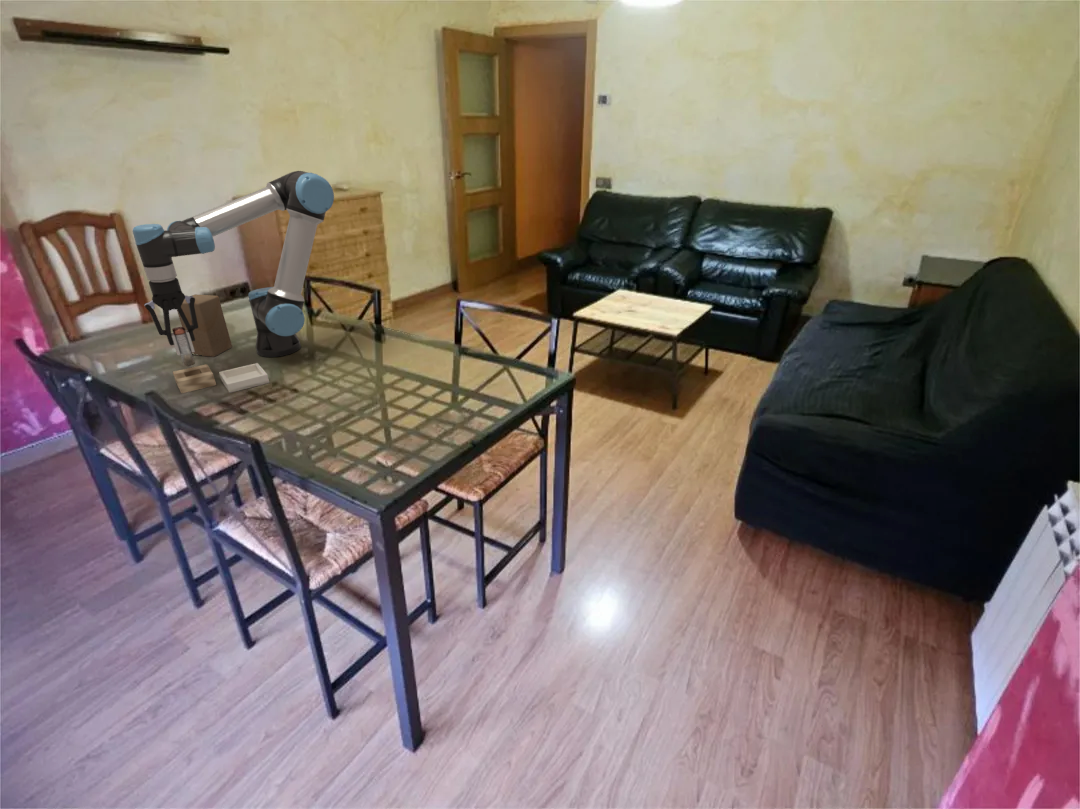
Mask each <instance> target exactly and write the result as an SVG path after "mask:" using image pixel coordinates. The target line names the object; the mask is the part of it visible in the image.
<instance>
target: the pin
mask: <svg viewBox="0 0 1080 809" xmlns="http://www.w3.org/2000/svg"><path fill="white" fill-rule="evenodd" d="M171 332H172V333H173V334H174V335H175V338H176V342H177V345H178V348H179V351H180V354H181V355H180V358H181V362H182V364H183V366H185V367H191V366H193V365H195V363H196V362H195V358H194V355H192V351H191V348H190V345H189V342H188V338H187V335H186V331H185V328H184V327H182V326H177V327H173V328H172V329H171Z"/></svg>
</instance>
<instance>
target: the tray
mask: <svg viewBox="0 0 1080 809" xmlns="http://www.w3.org/2000/svg"><path fill="white" fill-rule="evenodd" d="M218 374H219V378H220V381H221V383H222V384H223V386H224V387H225V388H226V391H228V393H229V394H231V393H232V394H233V393H235V392H239V391H242V390H246V389H251V388H255V387H258V386H263V385H267V384H270V380H269V374H268V373H267V372H266V371H265V370H264V369H263V367H262V366H260V364H259V363H258V362H256V363H253V364H252V363H250V364H247V365H243V366H239V367H235V368H229V369H226V370H222V371H219V372H218Z"/></svg>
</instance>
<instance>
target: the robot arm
mask: <svg viewBox="0 0 1080 809" xmlns="http://www.w3.org/2000/svg"><path fill="white" fill-rule="evenodd" d="M334 193H335V192H334V190H333V187H332V185H331V184H330V182H329V181H328V180H327V179H326V178H324V177H323V176H321V175H318V174H317V173H313V172H309V171H308V172H307V171H304V170H296V171H291V172H289V173H286V174H284V175H281V176H280V177H278V178H275V179H274V180H271V181H269V182H266V186H265V187H263V188H261V189H257V190H255V191H253V192H250V193H248V194H246V195H244V196H241V197H238V198H236V199H233V200H230V201H228V202H226V203H224V204H221V205H218V206H216V207H213V208H211V209H208V210H206V211H203V212H201V213H198V214H195V215H193V216H191V217H187V218H186V219H183V220H175V221H172V222H170V223H169V225H168V226H167V228H166V230H165V229H164V228H163V225H161V224H158V223H146V224H139V225H136V226H133V228H132V234H133V237H134V241H135V242H134V243H135V245H136V249H137V251H138V254H139V257H140V260H141V263H142V266H143V269H144V271H145V272H144V273H145V275H146V278H147V280H148V284H149V287H150V291H151V294H152V297H151V300H150V301H149V302H145V303H144V304H143V305H144V308H145V309H146V310H147V311H148V312H149V314H150V316H151V319H152V320H153V323H154V325H155V327H156V329H157V332H158V334H159V335H160V336H166V338H167V342H168V344H169V345H170V346H174V350H175V352H176V354H177V356H181V354H180V351H179V348H178V345H177V342H176V338H175V335H174V334H173V332H172V329H171V321H170V311H173V310H176V311H178V312H177V314H178V313H179V314H180V316H181V318H182V320H183V322H184V324H185V326H186V328H187V330H186V335H187V338H188V342H189V345H190V348H191V351H192V352H195V351H194V347H193V344H192V341H195V337H194V334H193V330H194V329H197V328H198V322H197V318H196V313H195V308H194V303H195V298H194V297H193V296H192V295H187V294H186V295H185V293H183V291H182V288H181V285H180V282H179V279H178V278H177V277H178V274H177V271H176V268H175V265H174V261H173V258H177V257H183V256H184V257H185V256H191V255H192V256H193V255H202V254H203V255H205V254H207V253H213V252H214V251H215V249H216V244H215V241H214V237H216V236H219V235H220V234H224V233H225V232H227V231H230V230H232V229H235V228H237V227H240V226H242V225H244V224H247V223H249V222H251V221H254V220H256V219H259V218H261V217H263V216H266V215H268V214H271V213H273V212H275V211H277V210H278V211H279V210H280V211H282V212H285V211H287V213H288V214H289V219H288V223H287V227H286V233H285V236H284V242H283V246H282V249H281V255H280V259H279V261H278V262H279V263H278V267H277V271H276V275H275V276H276V277H275V280H274V281H275V282H274V284H273V285H274V286H269V287H262V288H257V289H253V290H251V291H250V292H248V303H249V305H250V308H251V314H252V317H253V322H254V324H255V328H256V332H257V333H256V341H255V350H256V354H257V355H258V356H261V357H264V358H265V357H266V358H276V357H284V356H288V355H291V354H294V353H297V351H299V350H301V348H302V345H301V342H300V339H299V337H298V335H297V334H298V333H299V332H300V331H301V330H302V329H303V327H304V325H305V314H304V312H303V309H304V308H303V307H304V304H305V298H304V296H303V295H302V292H303V287H304V284H305V278H306V274H307V271H308V266H309V262H310V257H311V254H312V250H313V247H314V246H313V245H314V241H315V237H316V233H317V229H318V225H319V224H321V223H323V222H324V220H325V217H326V212H328V211H329V210H330V209H331V208H332V207H333V204H334V200H335V194H334ZM184 299H186V302H187V303H188V305H189V310H190V315H191V320H192V325H190V324H189V322H188V320H187V318H186V316H185V314H184V312H183V310H182V308H181V305H182V303H183V301H184ZM155 305H157V306H158V307H159V308H161V309H162V314H163V315H162V316H163V323H164V329H163V328H162V324H161V323H160V321H159V319H158V316H157V314H156V312H155V309H156V308H155V307H156V306H155Z"/></svg>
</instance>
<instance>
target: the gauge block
mask: <svg viewBox="0 0 1080 809" xmlns="http://www.w3.org/2000/svg"><path fill="white" fill-rule="evenodd" d="M172 374H173V377H174V380H175V381H174V382H175V383H176V385H177V387H178V390H179V392H180V394H185V393H186V394H187V393H190V392H193V391H198V390H202V389H205V388H206V389H207V388H210V387H214V386H217V382H216V379H215V376H214V373H213V372H212V370H211V369H210V367H209V365H208V364H207V363H206V364H200V365H197V366H192V367H191V366H190V367H188V368H182V369H179V370H178V369H177V370H174V371H172Z"/></svg>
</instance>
